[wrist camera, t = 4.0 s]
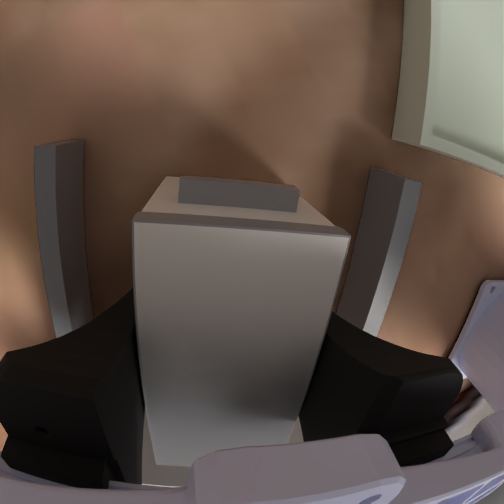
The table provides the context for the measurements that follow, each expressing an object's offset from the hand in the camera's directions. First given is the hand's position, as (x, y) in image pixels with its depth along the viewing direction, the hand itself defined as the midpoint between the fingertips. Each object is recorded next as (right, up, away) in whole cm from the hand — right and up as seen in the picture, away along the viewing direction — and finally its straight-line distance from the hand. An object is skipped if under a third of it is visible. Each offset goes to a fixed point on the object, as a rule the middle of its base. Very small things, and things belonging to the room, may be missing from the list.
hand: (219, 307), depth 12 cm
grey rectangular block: (0, 0, +1) cm, 1 cm away
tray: (+12, +13, -2) cm, 18 cm away
